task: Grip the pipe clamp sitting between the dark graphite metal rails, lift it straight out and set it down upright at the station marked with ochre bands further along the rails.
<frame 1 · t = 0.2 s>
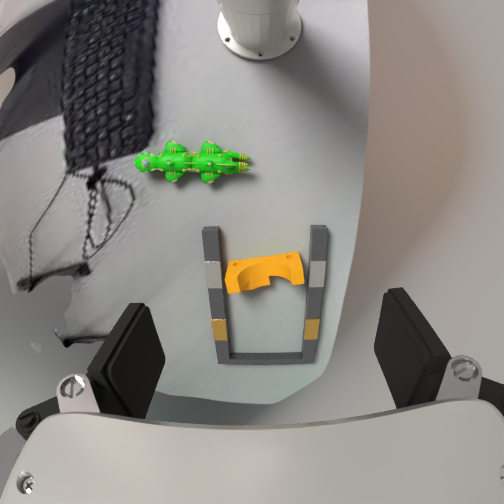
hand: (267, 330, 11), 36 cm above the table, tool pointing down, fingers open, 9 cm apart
rail frame: (265, 298, 53), on the table
crocodile figurine: (193, 160, 44), on the table
pipe clamp: (265, 266, 51), on the table
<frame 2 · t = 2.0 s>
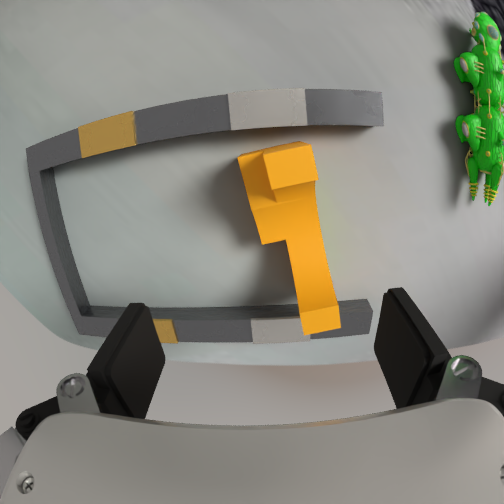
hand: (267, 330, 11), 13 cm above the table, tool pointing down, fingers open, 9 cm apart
rail frame: (200, 229, 23), on the table
crocodile figurine: (474, 102, 17), on the table
pipe clamp: (288, 221, 23), on the table
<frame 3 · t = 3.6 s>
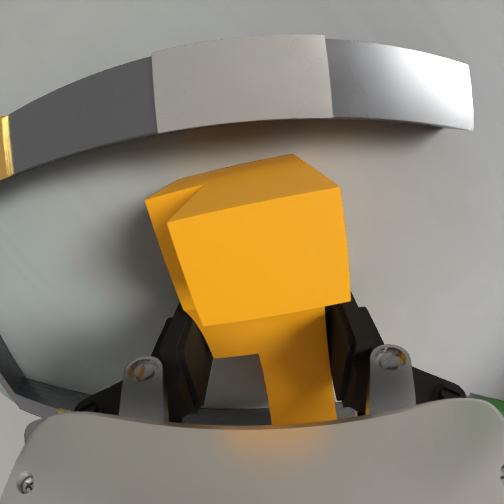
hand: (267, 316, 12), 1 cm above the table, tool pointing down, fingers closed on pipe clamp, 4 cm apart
rail frame: (134, 310, 13), on the table
pipe clamp: (266, 303, 13), on the table, touching gripper
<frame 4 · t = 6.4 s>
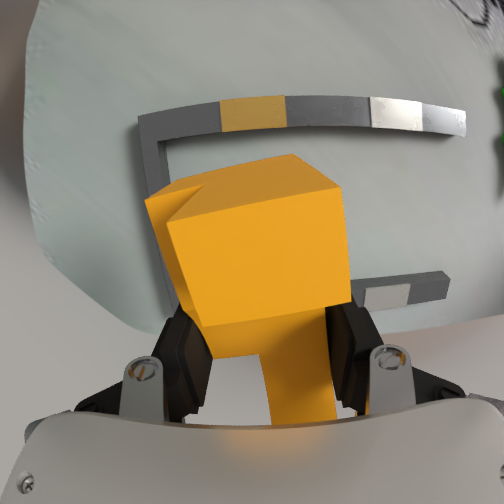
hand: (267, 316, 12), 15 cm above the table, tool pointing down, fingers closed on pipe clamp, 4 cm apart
rail frame: (328, 209, 26), on the table
pipe clamp: (266, 303, 13), point 15 cm above the table, touching gripper
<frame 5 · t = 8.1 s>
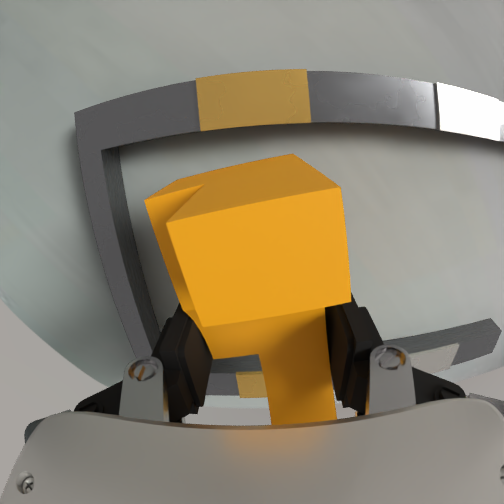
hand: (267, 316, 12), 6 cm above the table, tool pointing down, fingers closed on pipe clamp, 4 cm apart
rail frame: (365, 251, 17), on the table
pipe clamp: (266, 303, 13), point 5 cm above the table, touching gripper
when the fingers open (2 cm above the table, at t = 9.2 s): pipe clamp drops 1 cm, on the table.
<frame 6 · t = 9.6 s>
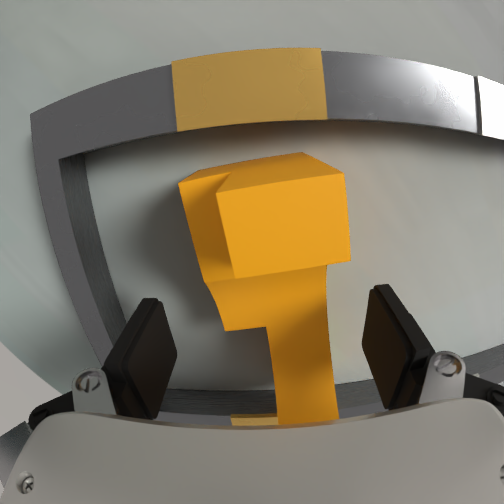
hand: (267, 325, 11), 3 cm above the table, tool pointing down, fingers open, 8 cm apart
rail frame: (386, 279, 13), on the table
pipe clamp: (272, 284, 14), on the table
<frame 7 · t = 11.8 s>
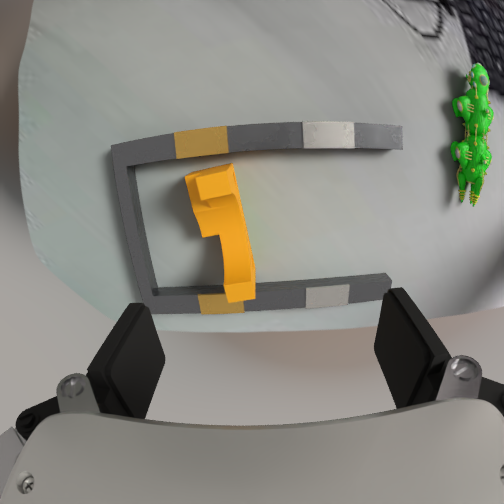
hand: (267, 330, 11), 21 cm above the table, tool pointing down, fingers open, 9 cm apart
rail frame: (270, 219, 31), on the table
crocodile figurine: (465, 131, 26), on the table
pipe clamp: (224, 221, 31), on the table
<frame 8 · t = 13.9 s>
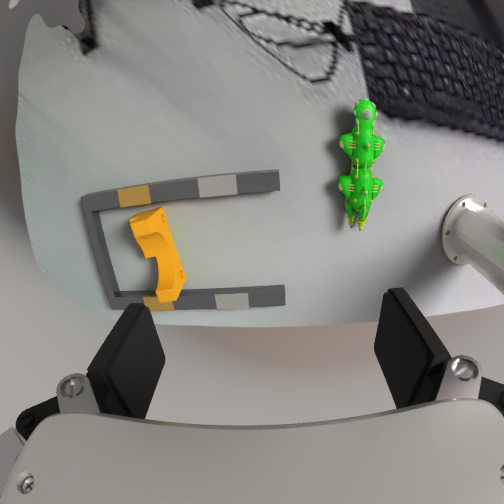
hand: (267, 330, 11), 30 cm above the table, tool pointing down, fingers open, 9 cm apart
rail frame: (187, 245, 43), on the table
crocodile figurine: (357, 162, 37), on the table
pipe clamp: (162, 246, 43), on the table
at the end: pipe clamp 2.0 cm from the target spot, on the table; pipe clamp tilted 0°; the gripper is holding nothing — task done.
